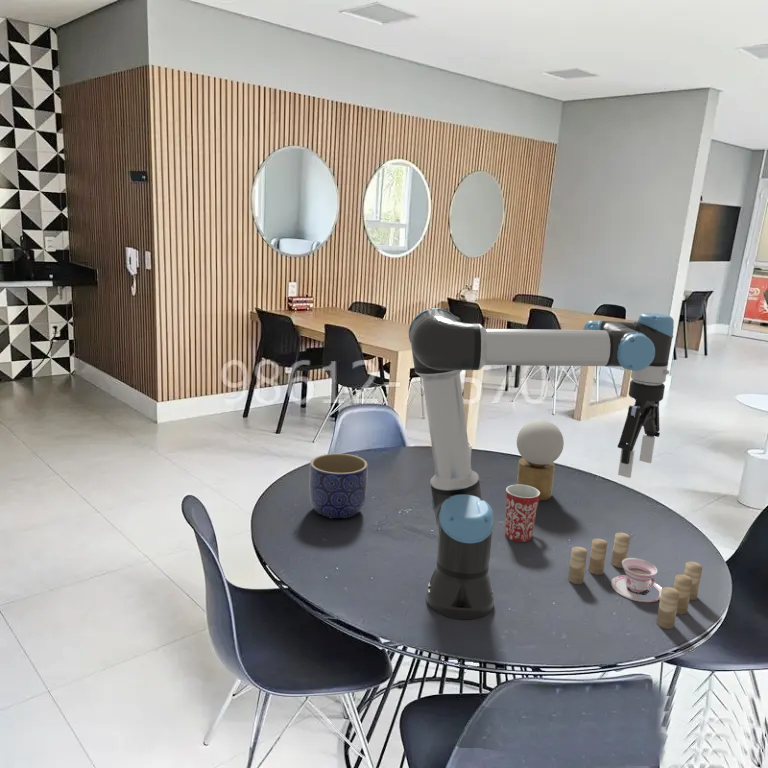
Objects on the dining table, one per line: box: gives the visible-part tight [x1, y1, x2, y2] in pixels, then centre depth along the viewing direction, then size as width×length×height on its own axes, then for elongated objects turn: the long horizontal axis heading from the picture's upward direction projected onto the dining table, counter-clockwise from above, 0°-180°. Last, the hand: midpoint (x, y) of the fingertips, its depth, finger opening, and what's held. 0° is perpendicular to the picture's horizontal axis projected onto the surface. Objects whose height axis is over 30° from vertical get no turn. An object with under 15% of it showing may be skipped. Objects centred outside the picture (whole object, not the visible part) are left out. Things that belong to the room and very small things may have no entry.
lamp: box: [515, 419, 565, 502], centre depth 215 cm, size 15×14×25 cm
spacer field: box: [567, 532, 703, 630], centre depth 164 cm, size 20×27×8 cm
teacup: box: [610, 557, 663, 603], centre depth 165 cm, size 12×12×6 cm
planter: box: [308, 453, 369, 519], centre depth 198 cm, size 16×17×15 cm
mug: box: [504, 483, 540, 543], centre depth 189 cm, size 13×9×14 cm
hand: (635, 468), depth 163 cm, fingers open, 13 cm apart
